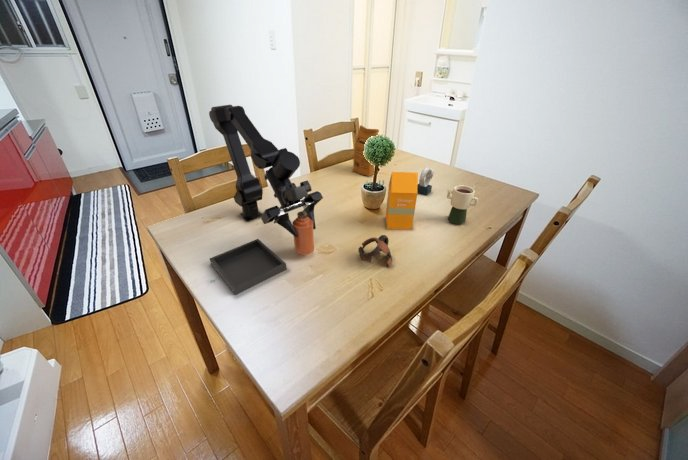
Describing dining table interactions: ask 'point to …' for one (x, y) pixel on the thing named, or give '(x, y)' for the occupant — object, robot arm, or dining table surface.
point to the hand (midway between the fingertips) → (305, 232)
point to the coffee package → (359, 160)
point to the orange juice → (401, 200)
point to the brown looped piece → (376, 249)
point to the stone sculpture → (425, 181)
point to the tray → (247, 265)
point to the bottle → (303, 234)
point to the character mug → (460, 203)
